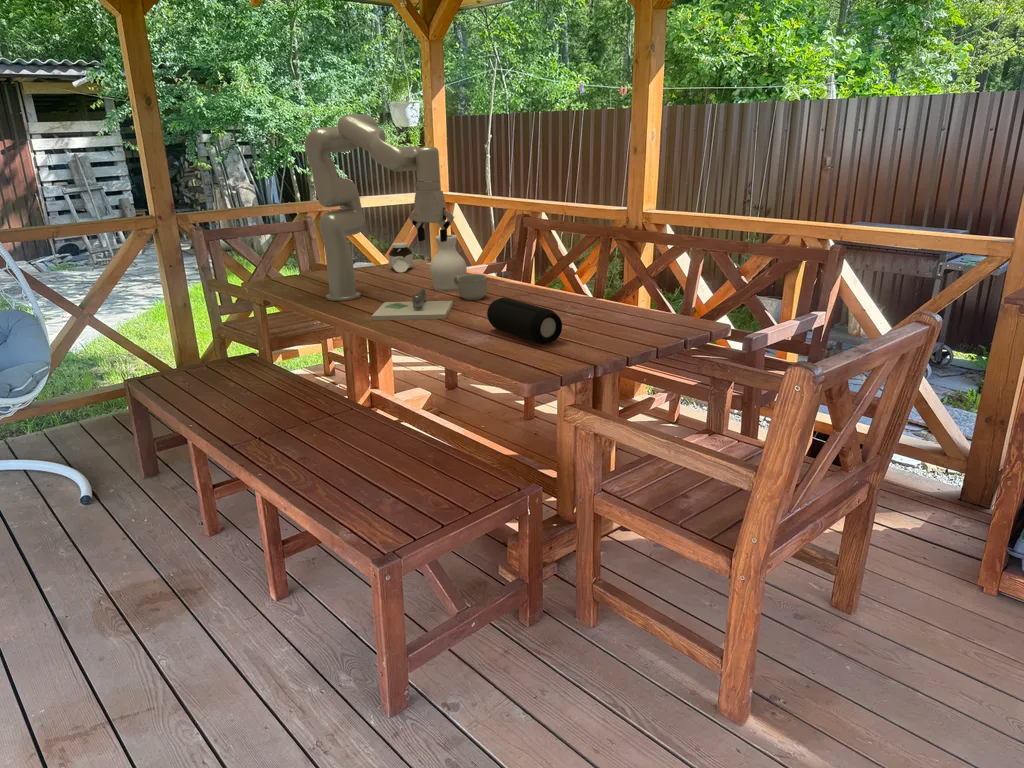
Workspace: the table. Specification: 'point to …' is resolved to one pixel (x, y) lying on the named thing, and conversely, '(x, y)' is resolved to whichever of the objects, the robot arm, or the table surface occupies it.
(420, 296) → the grey rectangular bar
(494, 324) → the portable speaker
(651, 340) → the table surface
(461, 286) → the teacup
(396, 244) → the spread jar
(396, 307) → the dial board
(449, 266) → the vase
